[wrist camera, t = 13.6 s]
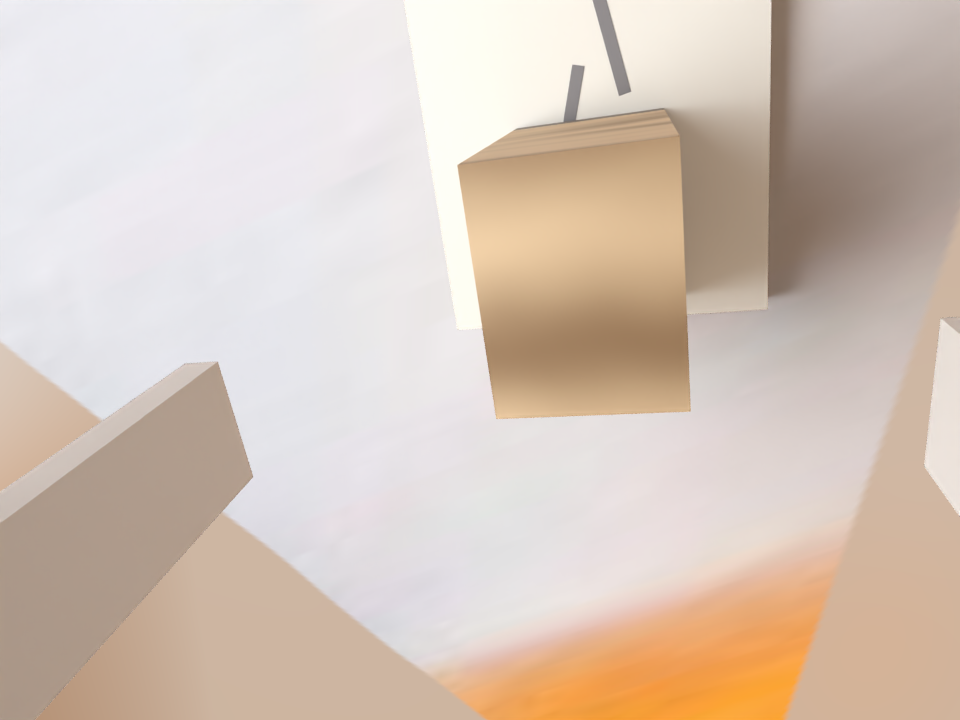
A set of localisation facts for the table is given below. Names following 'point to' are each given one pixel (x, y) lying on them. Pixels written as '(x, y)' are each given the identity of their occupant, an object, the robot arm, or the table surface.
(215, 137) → the table surface
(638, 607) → the table surface
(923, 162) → the table surface
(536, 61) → the board
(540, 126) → the block
